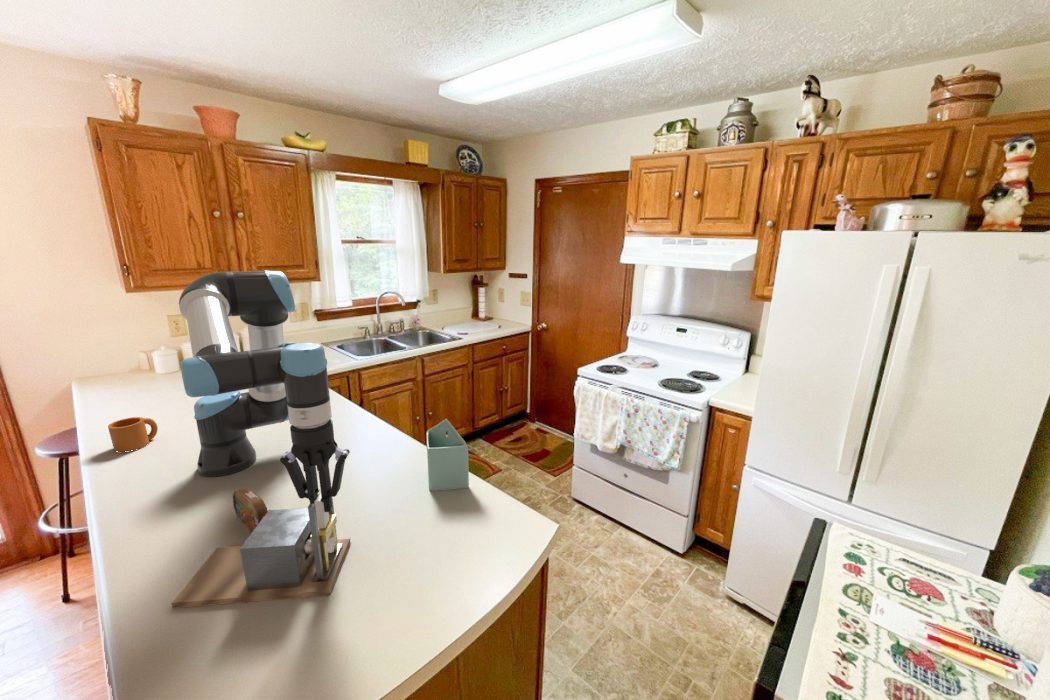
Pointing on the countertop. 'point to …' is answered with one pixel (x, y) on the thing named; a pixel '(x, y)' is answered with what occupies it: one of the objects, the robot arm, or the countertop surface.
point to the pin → (309, 547)
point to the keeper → (324, 536)
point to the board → (228, 585)
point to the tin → (249, 508)
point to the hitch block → (284, 550)
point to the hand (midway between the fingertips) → (323, 524)
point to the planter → (446, 458)
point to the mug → (131, 433)
